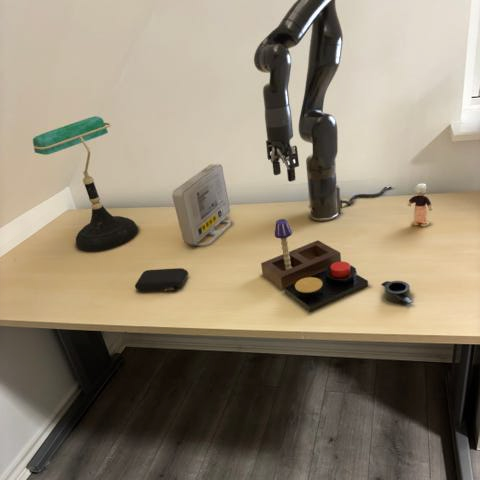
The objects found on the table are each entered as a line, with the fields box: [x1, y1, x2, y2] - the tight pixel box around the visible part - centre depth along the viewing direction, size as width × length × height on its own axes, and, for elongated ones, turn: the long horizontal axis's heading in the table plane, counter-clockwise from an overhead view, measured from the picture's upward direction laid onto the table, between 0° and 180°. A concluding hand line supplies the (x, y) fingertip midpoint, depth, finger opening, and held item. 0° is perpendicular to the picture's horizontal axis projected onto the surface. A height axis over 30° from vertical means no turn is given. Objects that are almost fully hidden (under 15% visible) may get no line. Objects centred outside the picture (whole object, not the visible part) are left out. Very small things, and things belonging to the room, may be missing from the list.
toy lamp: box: [274, 218, 293, 271], centre depth 135 cm, size 5×5×17 cm
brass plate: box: [295, 277, 323, 293], centre depth 127 cm, size 7×7×1 cm
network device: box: [171, 163, 232, 247], centre depth 166 cm, size 26×9×20 cm, turn 152°
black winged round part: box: [380, 280, 415, 304], centre depth 122 cm, size 8×10×3 cm
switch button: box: [331, 260, 351, 277], centre depth 130 cm, size 5×5×2 cm
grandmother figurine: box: [407, 183, 433, 228], centre depth 149 cm, size 8×4×13 cm, turn 58°
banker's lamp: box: [32, 115, 139, 253], centre depth 173 cm, size 26×23×40 cm
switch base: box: [283, 264, 369, 313], centre depth 130 cm, size 18×12×4 cm, turn 117°
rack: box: [260, 240, 342, 291], centre depth 140 cm, size 11×19×4 cm, turn 117°
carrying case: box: [134, 267, 189, 292], centre depth 146 cm, size 11×3×15 cm
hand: (284, 177), depth 151 cm, fingers open, 8 cm apart
